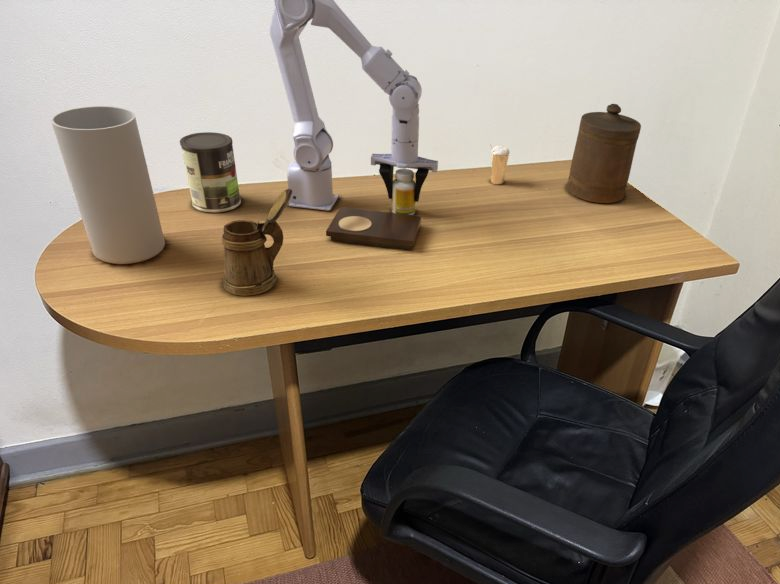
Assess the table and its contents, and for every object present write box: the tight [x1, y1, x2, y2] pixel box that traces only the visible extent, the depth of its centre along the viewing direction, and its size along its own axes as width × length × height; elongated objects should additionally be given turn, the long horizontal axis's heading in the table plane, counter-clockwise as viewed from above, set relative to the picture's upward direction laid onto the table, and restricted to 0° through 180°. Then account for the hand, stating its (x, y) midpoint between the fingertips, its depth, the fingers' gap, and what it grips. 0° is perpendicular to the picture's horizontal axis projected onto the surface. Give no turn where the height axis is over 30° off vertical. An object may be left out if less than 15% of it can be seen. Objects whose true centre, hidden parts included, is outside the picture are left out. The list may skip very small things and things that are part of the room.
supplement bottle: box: [391, 168, 417, 215], centre depth 140 cm, size 5×5×10 cm
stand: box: [325, 206, 423, 251], centre depth 133 cm, size 18×12×3 cm, turn 85°
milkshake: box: [489, 144, 510, 185], centre depth 159 cm, size 5×5×10 cm
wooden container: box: [566, 103, 642, 204], centre depth 155 cm, size 15×15×22 cm
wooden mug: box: [221, 188, 293, 297], centre depth 109 cm, size 9×14×18 cm, turn 103°
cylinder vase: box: [50, 105, 166, 265], centre depth 112 cm, size 12×12×25 cm
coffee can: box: [179, 131, 242, 213], centre depth 135 cm, size 10×10×14 cm
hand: (403, 198), depth 141 cm, fingers closed on supplement bottle, 5 cm apart
